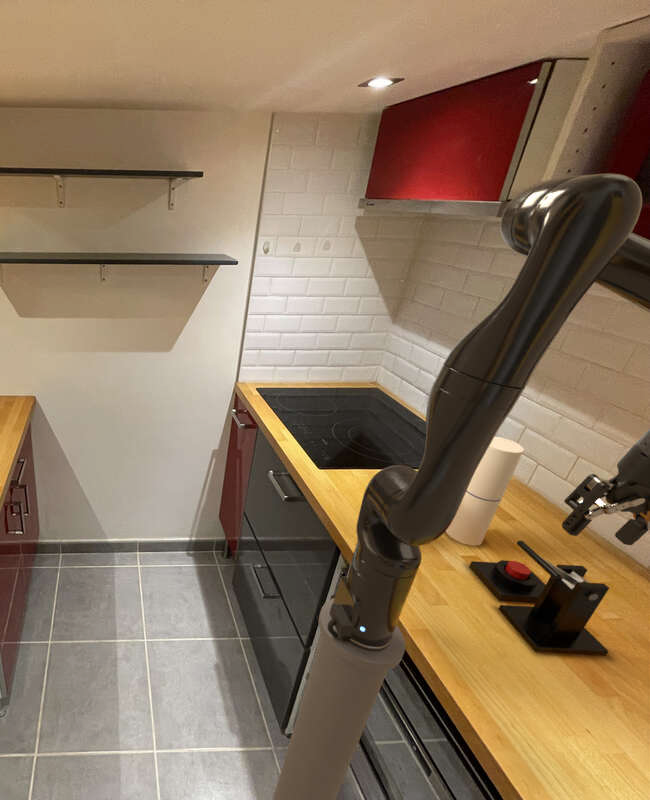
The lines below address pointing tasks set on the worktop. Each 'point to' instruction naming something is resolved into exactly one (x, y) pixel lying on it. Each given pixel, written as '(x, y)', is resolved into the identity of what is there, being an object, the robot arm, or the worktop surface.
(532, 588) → the block
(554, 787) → the worktop surface
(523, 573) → the button
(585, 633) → the lever bracket
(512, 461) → the cylindrical container
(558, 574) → the lever
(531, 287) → the robot arm
